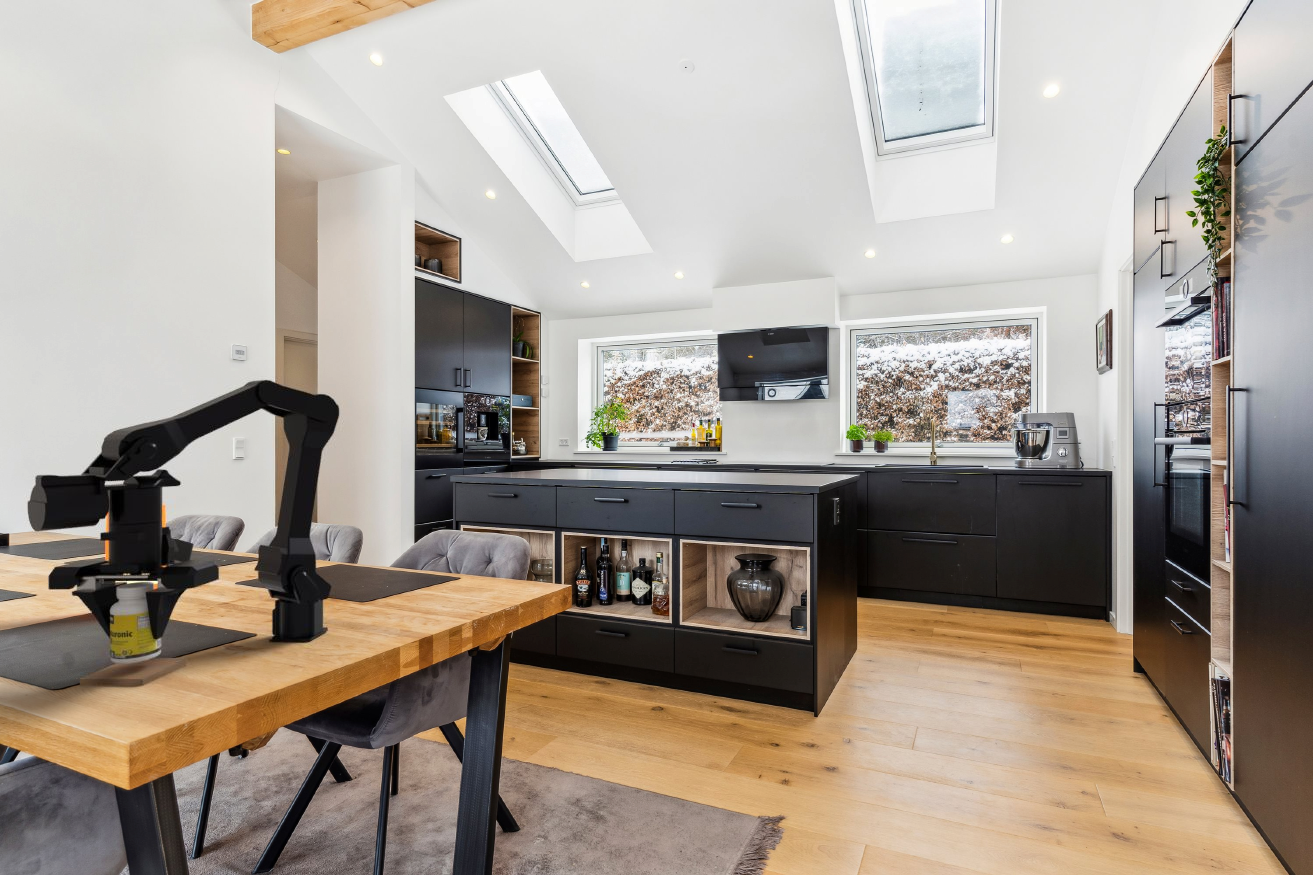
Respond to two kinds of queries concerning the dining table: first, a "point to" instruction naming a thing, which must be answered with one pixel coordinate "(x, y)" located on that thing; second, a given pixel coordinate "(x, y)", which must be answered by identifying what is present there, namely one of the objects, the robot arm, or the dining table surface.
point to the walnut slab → (135, 672)
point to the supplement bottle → (132, 625)
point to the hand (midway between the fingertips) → (136, 638)
